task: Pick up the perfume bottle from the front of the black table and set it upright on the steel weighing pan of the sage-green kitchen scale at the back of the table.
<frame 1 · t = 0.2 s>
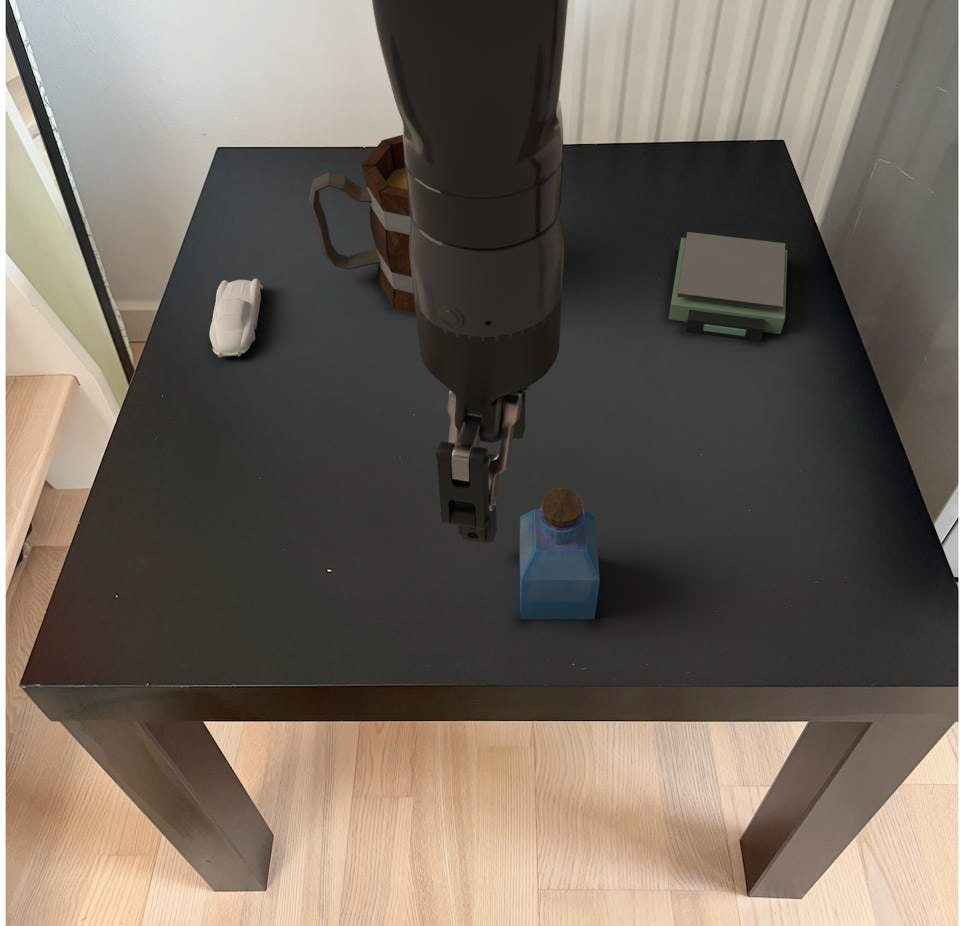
hand: (493, 481, 58), 22 cm above the table, tool pointing down, fingers open, 8 cm apart
scale: (727, 291, 103), on the table
toy car: (238, 326, 101), on the table
mug: (409, 280, 106), on the table
perfume bottle: (555, 588, 79), on the table
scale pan: (732, 271, 100), point 3 cm above the table, slide at 0.0 cm
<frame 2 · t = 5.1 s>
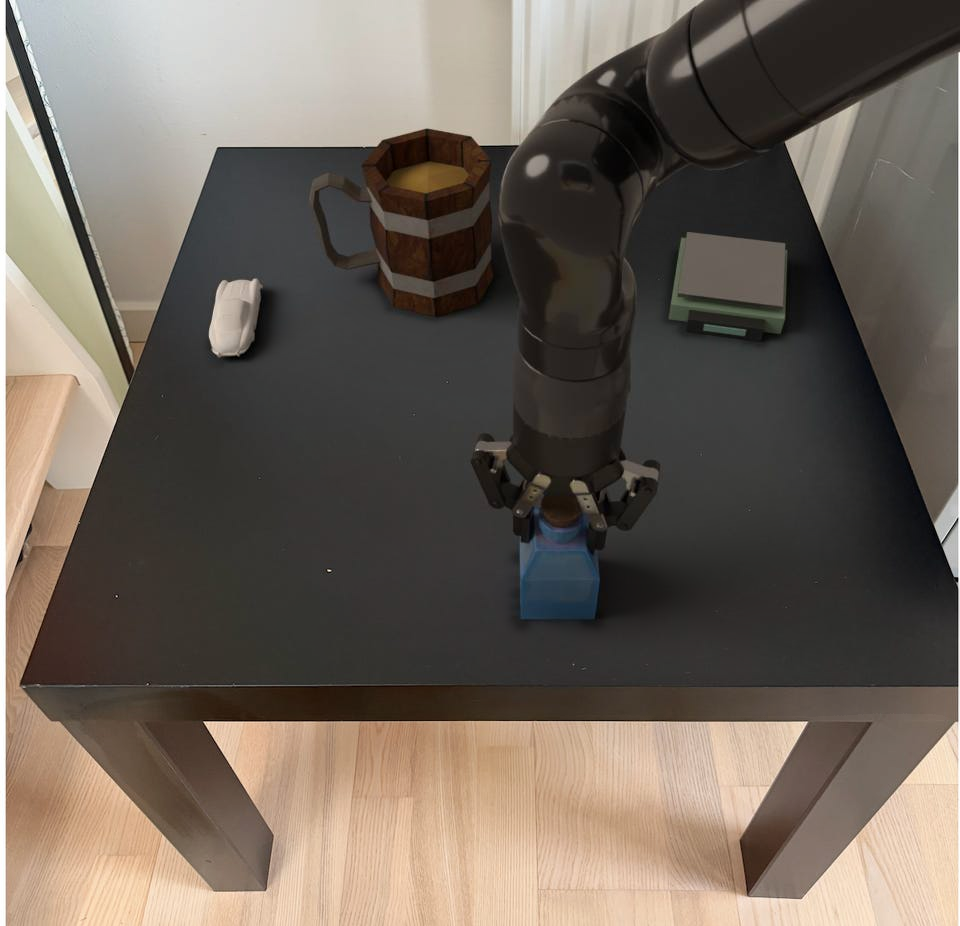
hand: (559, 539, 73), 7 cm above the table, tool pointing down, fingers closed on perfume bottle, 4 cm apart
perfume bottle: (555, 588, 79), on the table, touching gripper
everything else where it was.
when the fingers open (11 cm above the table, at t = 13.1 s): perfume bottle stays where it is, resting on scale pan.
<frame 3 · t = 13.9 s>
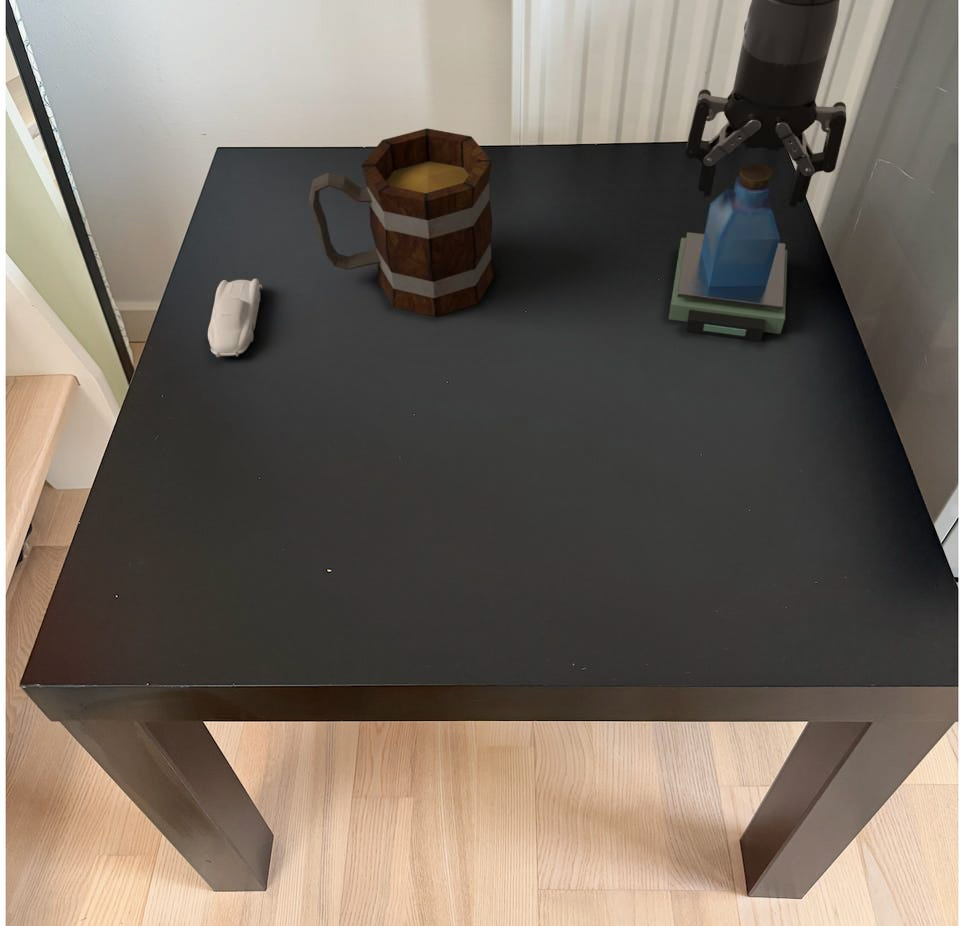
hand: (749, 197, 93), 12 cm above the table, tool pointing down, fingers open, 8 cm apart
perfume bottle: (732, 269, 100), point 3 cm above the table, touching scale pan
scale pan: (731, 272, 100), point 3 cm above the table, slide at 0.0 cm, touching perfume bottle, scale
everything else where it was.
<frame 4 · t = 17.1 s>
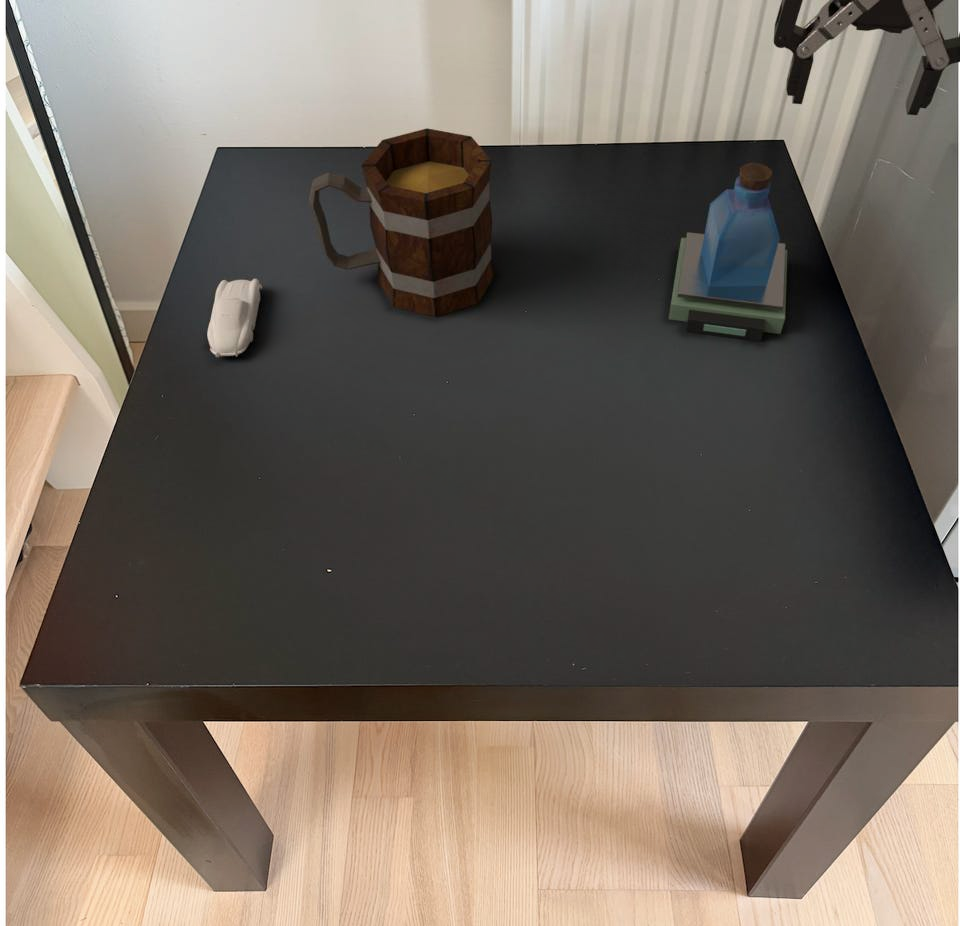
hand: (853, 104, 70), 30 cm above the table, tool pointing down, fingers open, 8 cm apart
nothing on the table moved.
at the end: perfume bottle 0.1 cm off-centre on the scale, point 3.2 cm above the scale's base; perfume bottle tilted 0°; the gripper is holding nothing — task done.
